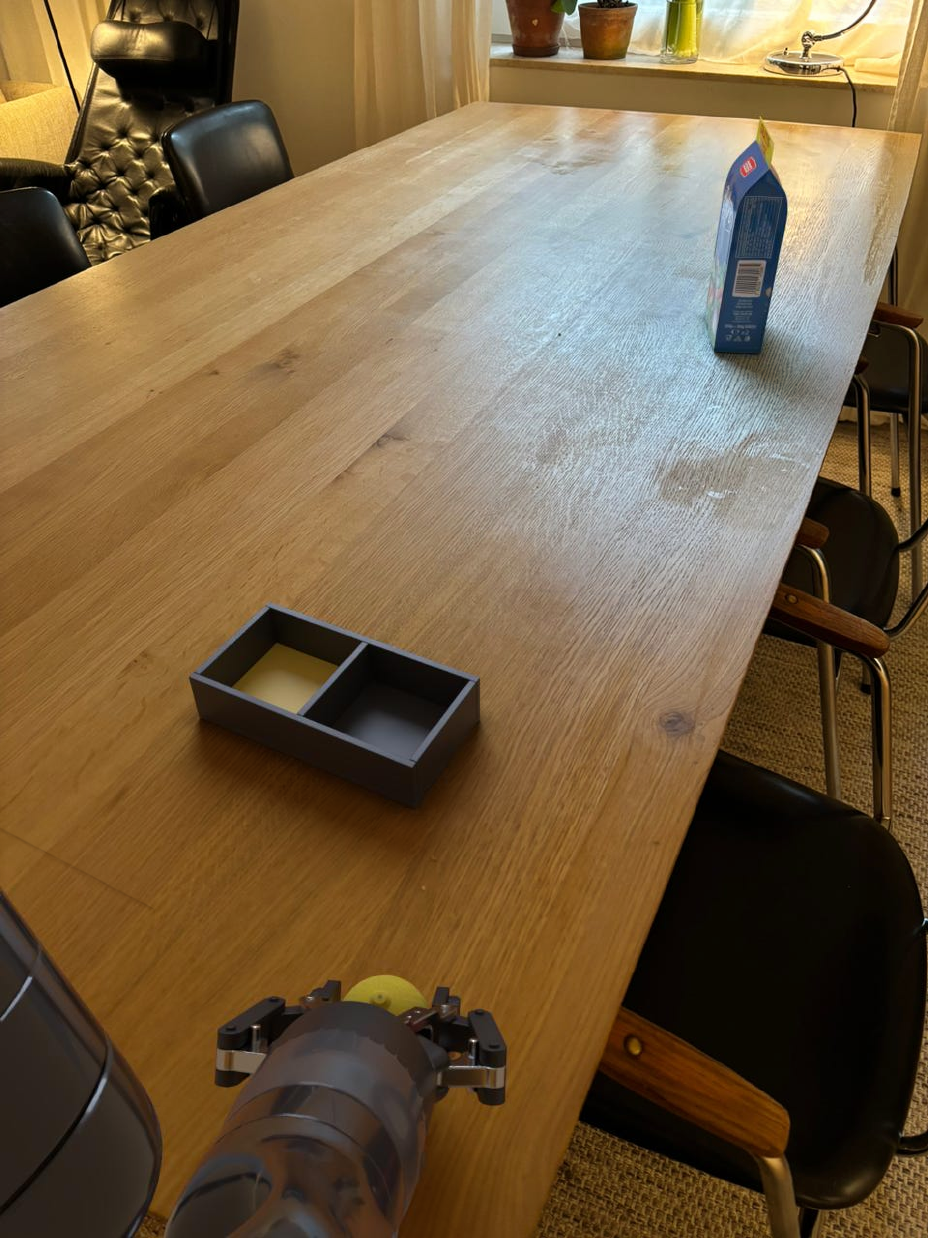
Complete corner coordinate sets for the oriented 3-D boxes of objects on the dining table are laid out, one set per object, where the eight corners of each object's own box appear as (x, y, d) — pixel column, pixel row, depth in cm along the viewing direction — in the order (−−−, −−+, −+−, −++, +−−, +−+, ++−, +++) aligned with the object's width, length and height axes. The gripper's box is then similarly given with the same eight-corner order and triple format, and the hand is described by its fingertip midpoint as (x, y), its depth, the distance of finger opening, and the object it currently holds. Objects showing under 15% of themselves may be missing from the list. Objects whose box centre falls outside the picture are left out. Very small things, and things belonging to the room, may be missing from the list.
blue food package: (749, 315, 136) (786, 116, 119) (761, 354, 126) (803, 144, 110) (703, 314, 136) (733, 115, 120) (711, 352, 127) (745, 143, 111)
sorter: (415, 810, 71) (412, 768, 68) (199, 718, 79) (188, 676, 76) (480, 718, 78) (480, 677, 75) (276, 642, 85) (268, 601, 82)
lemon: (455, 1080, 56) (452, 1009, 51) (371, 1138, 54) (359, 1069, 49) (404, 1005, 60) (397, 931, 55) (323, 1056, 58) (307, 984, 52)
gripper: (517, 1044, 39) (518, 940, 56) (157, 1021, 40) (266, 926, 56) (509, 1245, 38) (513, 1078, 55) (144, 1217, 39) (258, 1062, 56)
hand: (387, 1002), depth 56 cm, fingers closed on lemon, 5 cm apart
